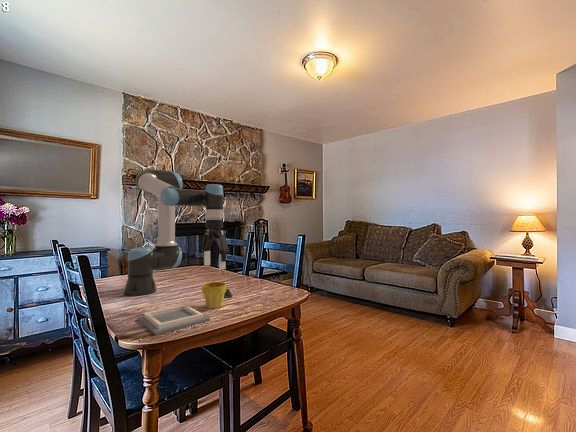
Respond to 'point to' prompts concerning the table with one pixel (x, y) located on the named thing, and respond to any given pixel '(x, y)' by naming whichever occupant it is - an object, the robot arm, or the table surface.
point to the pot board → (172, 319)
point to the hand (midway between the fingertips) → (214, 267)
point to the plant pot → (214, 294)
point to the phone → (227, 294)
